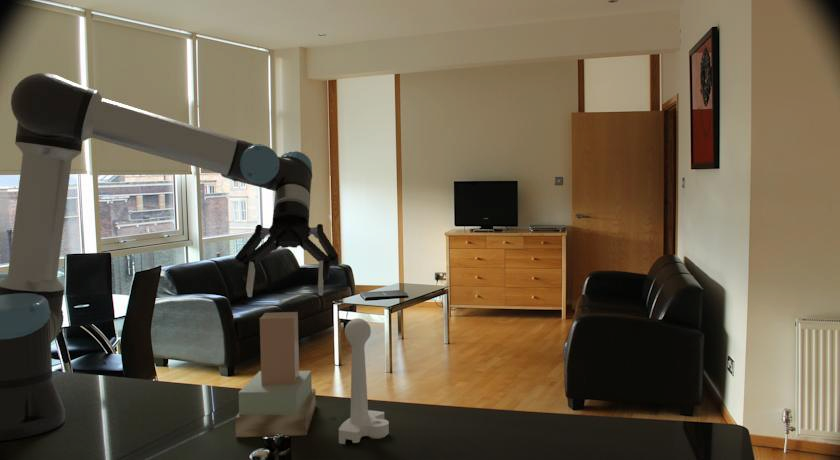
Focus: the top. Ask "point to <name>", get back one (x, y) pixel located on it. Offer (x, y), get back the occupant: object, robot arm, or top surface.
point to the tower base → (277, 422)
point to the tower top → (274, 396)
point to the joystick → (360, 391)
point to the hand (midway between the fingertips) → (284, 292)
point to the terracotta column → (279, 348)
